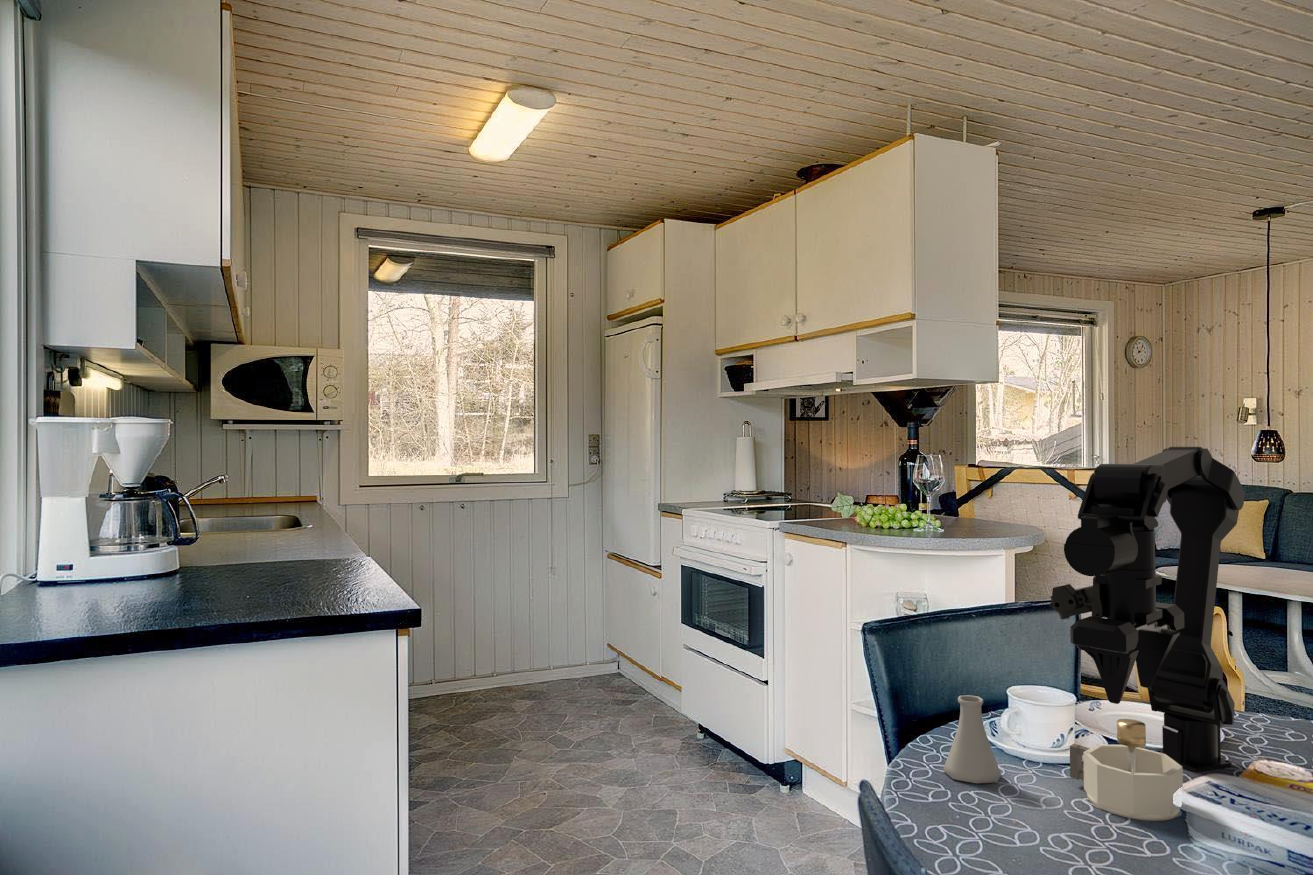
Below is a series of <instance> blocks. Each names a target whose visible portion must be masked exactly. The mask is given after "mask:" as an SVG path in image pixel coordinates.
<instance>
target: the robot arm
mask: <svg viewBox="0 0 1313 875" xmlns="http://www.w3.org/2000/svg"><path fill="white" fill-rule="evenodd" d="M1165 502H1168V503H1169V508H1170V509H1169V514H1170V516H1171V518H1172V520H1173V522H1174V523H1175V525H1176V527H1177V528H1178V530H1179V532H1180V542H1179V551H1178V561H1177V569H1176V570H1177V571H1176V580H1175V588H1174V598H1173V603H1165V602H1158V601H1157V596H1156V595H1157V588H1156V586H1160V585H1162V584H1163V582H1162V581H1163V577H1162V575H1160V574H1156V540H1155V539H1156V537H1155V536H1156V534H1155V528H1157V527H1159V522H1158V520H1157V519H1156V518H1158V517H1159V514H1160V512H1161V510H1162V507H1163V505H1164V504H1165ZM1244 503H1245V491H1244V488H1243V486H1242V483H1241V481H1240V480H1239V477H1238V476H1237V474H1236V472H1235V471H1234V470H1233V469H1231V468H1230V467H1229V466H1227V465H1225V464H1223V463H1221V462H1220V461H1219V460H1217V459H1215V458H1214V457H1213V456H1212V454H1211V453H1210V450H1209V449H1208V448H1203V447H1202V446H1170V447H1168V448H1164V449H1163V450H1162V451H1161V452H1159V453H1156V454H1154V455H1151V456H1149V457H1147V458H1144V459H1142V460H1138V461H1137V462H1134V463H1100V464H1098V465H1097V466H1096V467H1095V469H1094V470H1093V472H1092V474H1091V475H1090V476H1089V479H1088V480H1087V485H1086V488H1085V491H1084V494H1083V498H1082V501H1081V503H1080V506H1079V510H1078V513H1077V519H1078V520H1080V527H1078V528H1075V529H1073V531H1071V532H1070V533H1069V534H1068V536H1067V538H1066V540H1065V543H1064V544H1063V553H1064V557H1065V559H1066V562H1067V563H1068V565H1069V567H1071V569H1073V570H1074V571H1075V572H1077V573H1079V574H1080V575H1083V576H1086V577H1093V578H1092V584H1091V585H1090V586H1084V587H1081V588H1080V587H1079V588H1074V587H1073V586H1072V585H1071V584H1070V583H1066V584H1064V585H1059V586H1054V587H1052V590H1051V591H1052V593H1051V595H1050V601H1051V602H1050V603H1049V607H1050V608H1051V609H1052V610H1055V612H1057V613H1058V616H1059V617H1060V620H1066V619H1070V618H1071V617H1073V616H1076V615H1077V616H1078V615H1082V614H1088V613H1091V615H1089V616H1087V617H1084V618H1081V619H1078V620H1077V621H1075V622H1074V623H1073V624H1072V625H1071V626H1069V629H1070V633H1069V635H1070V643H1071V644H1073V645H1076V647H1077V649H1079V651H1084V652H1085V653H1086V654H1088V655H1089V656H1090V658H1092V660H1093V661H1094V664H1095V666H1096V669H1097V672H1098V674H1099V678H1100V679H1101V683H1102V685H1103V688H1104V692H1105V695H1106V697H1107V700H1108V702H1109V703H1111V704H1114V705H1119V704H1120V703H1121V701H1122V699H1123V696H1124V694H1125V691H1126V688H1127V685H1128V682H1129V679H1130V676H1131V674H1132V671H1133V668H1134V667H1135V665H1136V672H1137V677H1138V681H1139V685H1140V687H1141V688H1146V689H1147V692H1148V693H1147V694H1148V698H1149V704H1150V708H1151V709H1150V710H1151V711H1152V712H1156V713H1157V712H1159V713H1163V725H1162V731H1161V732H1162V749H1155V750H1154V751H1155V752H1159V753H1163V754H1166V755H1167V756H1169V757H1170V758H1171V759H1173V760H1174V761H1175V762H1177V763H1178V764H1179V765H1181V766H1182V768H1183V767H1184V768H1186V769H1188V770H1190V771H1194V772H1198V771H1199V772H1200V771H1205V770H1212V769H1213V770H1214V769H1219V768H1220V769H1222V768H1226V767H1232V761H1230V760H1228V759H1225V758H1223V757H1222V750H1221V749H1222V747H1221V746H1222V745H1221V744H1222V742H1221V738H1222V737H1221V733H1222V732H1221V727H1223V726H1224V725H1225V726H1230V725H1231V726H1232V725H1234V724H1235V714H1236V711H1235V706H1236V704H1235V701H1234V699H1233V697H1232V695H1231V693H1230V691H1229V689H1228V687H1227V684H1226V683H1225V681H1224V680H1223V679H1224V676H1223V675H1224V674H1223V673H1224V671H1223V670H1224V668H1223V666H1222V665H1221V662H1220V660H1219V659H1218V657H1217V655H1216V654H1215V651H1214V649H1213V648H1212V634H1213V625H1214V615H1215V614H1214V613H1215V606H1216V605H1215V604H1216V595H1217V583H1218V575H1219V566H1220V565H1219V564H1220V554H1221V546H1222V541H1223V539H1225V538H1226V537H1227V535H1228V534H1230V532H1231V531H1232V530H1233V529H1234V528H1235V527H1236V526H1237V524H1238V520H1239V513H1240V511H1241V510H1242V509H1243V506H1244V505H1245V504H1244ZM1168 626H1169V627H1170V629H1168Z"/></svg>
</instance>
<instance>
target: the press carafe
mask: <svg viewBox="0 0 1313 875" xmlns="http://www.w3.org/2000/svg"><path fill="white" fill-rule="evenodd" d="M1135 760H1136V773H1132V772H1128V746H1125V745H1122V744H1100V743H1099V744H1096V745H1094V746H1092V747H1087V746H1084V745H1081V744H1077V743H1072V744H1070V745H1069V776H1070V778H1071V779H1074V780H1078V781H1079V780H1080V781H1083V790H1084V791H1085V792H1086V797H1087V799H1088V801H1089V802H1090V803H1091V804H1092V805H1094V806H1096V807H1097V808H1099V809H1100V810H1103V811H1105V812H1108V813H1110V814H1112V815H1116V816H1121V817H1124V818H1127V819H1134V820H1138V821H1139V820H1140V821H1147V822H1148V821H1149V822H1161V821H1168V820H1173V819H1176V818H1178V817H1179V815H1180V814H1181V808H1178V807H1176V806H1175V805H1174V804H1173V794H1174V793H1175V792H1176V791H1177V790H1178V789H1179V788H1181V787H1183V788H1184V785H1183V784H1184V782H1183V780H1184V778H1183V776H1184V775H1183V771H1184V770H1183V766H1181V765H1179V764H1178V763H1177V762H1175V761H1174V760H1173V759H1171V758H1170V757H1169V756H1167V755H1166V754H1163V753H1159V752H1155V750H1152V749H1146V748H1144V747H1135Z"/></svg>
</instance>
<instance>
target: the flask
mask: <svg viewBox="0 0 1313 875" xmlns="http://www.w3.org/2000/svg"><path fill="white" fill-rule="evenodd" d="M957 703H959V705H960V707H959V709H960V710H959V711H960V712H959V719H958V726H957V729H956V732H955V736H954V738H953V741H952V744H951V747H950V751H949V752H948V755H947V759H945V760H946V761H945V764H944V766H943V769H942V771H943V772H944V773H945V774H947V775H948V776H949V777H950V779H953V780H955V781H961V782H967V783H971V784H972V783H973V784H988V783H989V784H990V783H998V782H999V780H1000V777H1001V775H1002V774H1001V770H1000V768H999V765H998V762H997V760H996V758H995V755H994V752H993V749H992V747H991V744H990V741H989V738H988V735H987V733H986V729H985V727H984V726H985V725H984V721H983V716H982V715H983V714H982V706H983V704H984V698H982V697H980V696H978V695H977V696H976V695H970V694H965V695H959V696H958V697H957Z"/></svg>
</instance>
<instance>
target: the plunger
mask: <svg viewBox="0 0 1313 875" xmlns="http://www.w3.org/2000/svg"><path fill="white" fill-rule="evenodd" d="M1146 727H1147V726H1146V723H1145V722H1143V721H1140V720H1136V719H1132V718H1131V719H1130V718H1121V719H1117V720H1116V736H1117V738H1116V741H1117V743H1118V744H1119V745H1125V746H1128V772H1132V773H1136V760H1135V747H1140V748H1144V747H1146V746H1147V743H1146V741H1147V740H1146V738H1147V734H1146Z"/></svg>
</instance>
